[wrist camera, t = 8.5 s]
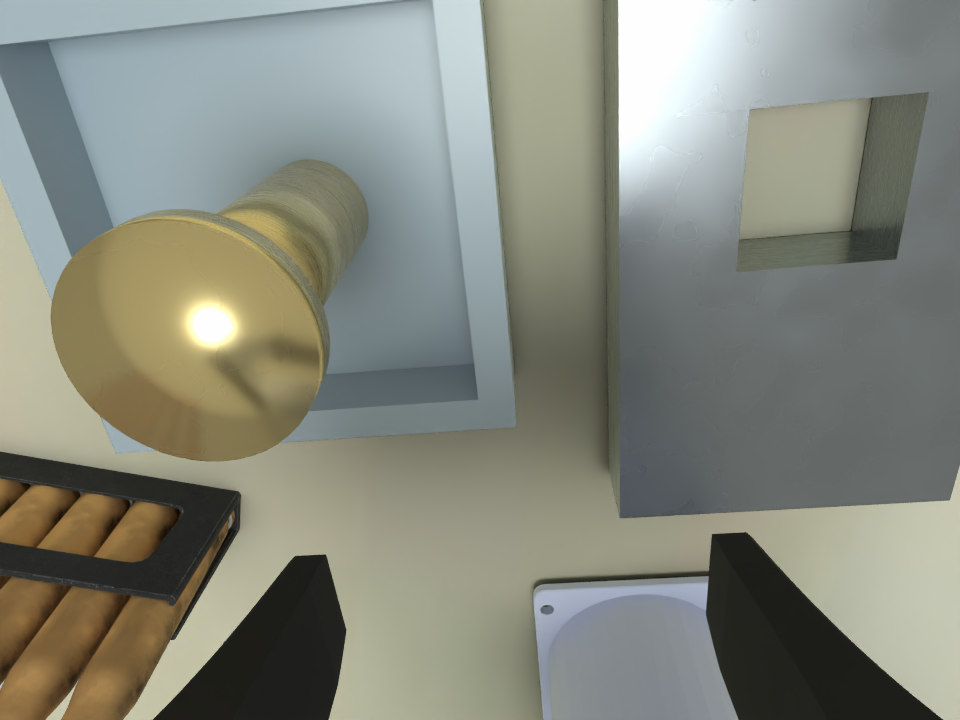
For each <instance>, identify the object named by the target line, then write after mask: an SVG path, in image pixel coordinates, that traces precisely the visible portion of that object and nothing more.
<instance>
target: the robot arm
mask: <svg viewBox="0 0 960 720" xmlns="http://www.w3.org/2000/svg"><path fill="white" fill-rule="evenodd" d="M533 603H534V615H535V626H536V638H537V650H538V662H539V674H540V686H541V698H542V709H543V720H943V719H941V718H940V717H939V716H938V715H936V714H935V713H934V712H933V711H931V710H930V709H929V708H928V707H926V706H925V705H924V704H923V703H921V702H920V701H919V700H918V699H917V698H915V697H914V696H913V695H912V694H910V693H909V692H908V691H907V690H906V689H904V688H903V687H902V686H901V685H900V684H899V683H897V682H896V681H895V680H894V679H893V678H892V677H890V676H889V675H888V674H887V673H886V672H885V671H884V670H882V669H881V668H880V667H879V666H878V665H877V664H876V663H875V662H874V661H872V660H871V659H870V658H869V657H868V656H867V655H866V654H865V653H864V652H863V651H861V650H860V649H859V648H858V647H857V646H856V645H855V644H854V643H853V642H852V641H851V640H850V639H849V638H848V637H847V636H845V635H844V634H843V633H842V632H841V631H840V630H839V629H838V628H837V627H836V626H835V625H834V624H833V623H832V622H831V621H830V620H829V619H828V618H827V617H826V616H825V615H824V614H823V613H822V612H821V611H820V610H819V609H818V608H817V607H816V606H815V605H814V604H813V603H812V602H811V601H810V600H809V599H808V598H807V597H806V596H805V595H804V594H803V593H802V592H801V590H800V589H799V588H798V587H797V586H796V585H795V584H794V583H793V582H792V581H791V580H790V579H789V578H788V577H787V576H786V575H785V573H784V572H783V571H782V570H781V569H780V568H779V567H778V566H777V565H776V564H775V563H774V561H773V560H772V559H771V558H770V557H769V556H768V555H767V554H766V553H765V551H764V550H763V549H762V548H761V547H760V546H759V545H758V544H757V542H756V541H755V540H754V539H753V538H752V537H751V536H750V535H749V534H748V533H746V532H744V533H725V534H712V541H711V554H710V566H709V576H701V577H680V578H660V579H639V580H618V581H598V582H577V583H556V584H543V585H539V586H538V587H536V588H535V589H534V591H533ZM544 605H550V606H548V607H545V606H544ZM345 636H346V627H345V624H344V620H343V616H342V613H341V609H340V605H339V601H338V598H337V594H336V590H335V586H334V583H333V579H332V575H331V572H330V568H329V564H328V560H327V557H326V555H308V556H295V557H294V558H293V559H292V560H291V561H290V562H289V563H288V565H287V566H286V567H285V568H284V570H283V571H282V572H281V573H280V575H279V576H278V577H277V578H276V580H275V581H274V582H273V583H272V585H271V586H270V587H269V589H268V590H267V591H266V592H265V594H264V595H263V596H262V597H261V599H260V600H259V601H258V602H257V604H256V605H255V606H254V607H253V609H252V610H251V611H250V612H249V614H248V615H247V616H246V617H245V618H244V620H243V621H242V622H241V623H240V624H239V626H238V627H237V628H236V629H235V630H234V632H233V633H232V634H231V635H230V636H229V638H228V639H227V640H226V641H225V642H224V643H223V645H222V646H221V647H220V648H219V649H218V651H217V652H216V653H215V654H214V655H213V656H212V657H211V658H210V660H209V661H208V662H207V663H206V664H205V665H204V666H203V667H202V668H201V669H200V671H199V672H198V673H197V674H196V675H195V676H194V677H193V678H192V679H191V680H190V682H189V683H188V684H187V685H186V686H185V687H184V688H183V689H182V690H181V691H180V692H179V694H178V695H177V696H176V697H175V698H174V699H173V700H172V701H171V702H170V703H169V704H168V705H167V706H166V707H165V708H164V709H163V710H162V711H161V712H160V713H159V714H158V715H157V716H156V717H155V718H154V719H153V720H328V719H329V716H330V712H331V708H332V705H333V701H334V697H335V694H336V690H337V686H338V681H339V675H340V669H341V663H342V656H343V650H344V643H345Z"/></svg>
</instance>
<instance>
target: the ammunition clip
mask: <svg viewBox="0 0 960 720" xmlns="http://www.w3.org/2000/svg"><path fill="white" fill-rule="evenodd" d="M239 521H240V494H239V492H238V491H232V490H226V489H220V488H214V487H208V486H202V485H196V484H190V483H184V482H178V481H172V480H166V479H160V478H154V477H148V476H142V475H136V474H130V473H124V472H118V471H112V470H106V469H100V468H94V467H88V466H82V465H76V464H70V463H64V462H58V461H52V460H46V459H40V458H34V457H28V456H22V455H16V454H10V453H4V452H0V685H1V684H2V682H3V681H4V680H5V681H4V683H3V685H2V688H1V690H0V720H46V718H47V717H48V716H49V715H50V714H51V713H52V712H53V711H54V710H55V709H56V708H57V706H58V705H59V704H60V703H61V702H62V701H63V700H64V699H65V697H66V696H67V695H68V694H69V693H70V691H71V690H72V689H73V687H74V686H75V684H76V683H77V681H78V679H79V678H80V679H79V681H78V683H77V685H76V687H75V690H74V692H73V695H72V698H71V700H70V703H69V705H68V708H67V710H66V712H65V714H64V715H63V717H62V719H61V720H123V719H124V718H125V716H126V715H127V714H128V713H129V711H130V710H131V709H132V708H133V706H134V705H135V704H136V702H137V700H138V699H139V697H140V695H141V694H142V692H143V690H144V688H145V686H146V684H147V682H148V680H149V679H150V677H151V675H152V673H153V671H154V669H155V667H156V666H157V664H158V662H159V660H160V658H161V656H162V654H163V653H164V651H165V649H166V647H167V645H168V643H169V641H170V640H174V639H175V638H176V637H177V635H178V633H179V632H180V630H181V628H182V626H183V625H184V623H185V621H186V620H187V618H188V616H189V615H190V613H191V611H192V609H193V608H194V606H195V604H196V603H197V601H198V599H199V598H200V596H201V594H202V592H203V591H204V589H205V587H206V586H207V584H208V582H209V581H210V579H211V577H212V575H213V574H214V572H215V570H216V569H217V567H218V565H219V564H220V562H221V560H222V558H223V557H224V555H225V553H226V552H227V550H228V548H229V546H230V545H231V543H232V541H233V540H234V538H235V536H236V535H237V533H238V531H239ZM87 665H88V666H87ZM82 673H83V674H82ZM80 676H81V677H80Z"/></svg>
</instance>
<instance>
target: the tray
mask: <svg viewBox="0 0 960 720" xmlns="http://www.w3.org/2000/svg"><path fill="white" fill-rule="evenodd" d="M304 159H313V160H320V161H324V162H327V163H330V164H332V165H334V166H336V167H338V168H340V169H341V170H343V171H344V172H346V173H347V174H348V175H349V176H350V177H351V178H352V179H353V180H354V181H355V182H356V184H357V185H358V187H359V188H360V190H361V191H362V193H363V195H364V198H365V200H366V203H367V207H368V213H369V224H368V230H367V234H366V237H365V239H364V241H363V243H362V244H361V246H360V248H359V249H358V251H357V253H356V254H355V256H354V258H353V259H352V261H351V263H350V264H349V266H348V268H347V269H346V271H345V272H344V274H343V276H342V277H341V279H340V281H339V282H338V284H337V286H336V287H335V289H334V291H333V292H332V294H331V295H330V297H329V299H328V300H327V302H326V304H325V305H324V307H323V308H324V312H325V315H326V318H327V322H328V327H329V334H330V357H329V363H328V368H327V371H326V375H325V378H324V380H323V382H322V384H321V387H320V389H319V391H318V393H317V395H316V397H315V399H314V401H313V403H312V405H311V407H310V409H309V411H308V413H307V415H306V416H305V418H304V419H303V421H302V422H301V423H300V425H299V426H298V427H297V428H296V429H295V430H294V431H293V432H292V433H291V434H290V435H289V436H288V437H287V438H285V439H284V440H283V441H281V442H280V443H283V442H299V441H314V440H329V439H345V438H360V437H375V436H391V435H406V434H421V433H437V432H452V431H467V430H483V429H498V428H513V427H516V396H515V372H514V361H513V349H512V337H511V325H510V313H509V301H508V289H507V277H506V265H505V253H504V241H503V230H502V218H501V206H500V194H499V182H498V170H497V158H496V146H495V134H494V122H493V111H492V99H491V87H490V75H489V63H488V51H487V39H486V27H485V15H484V3H483V0H0V179H1V181H2V184H3V186H4V189H5V191H6V193H7V196H8V198H9V200H10V203H11V205H12V208H13V210H14V212H15V215H16V217H17V220H18V222H19V224H20V227H21V229H22V231H23V234H24V236H25V239H26V241H27V243H28V246H29V248H30V250H31V253H32V255H33V258H34V260H35V262H36V265H37V267H38V270H39V272H40V274H41V277H42V279H43V281H44V284H45V286H46V289H47V291H48V293H49V296H50V298H51V301H52V299H53V295H54V291H55V287H56V284H57V282H58V280H59V278H60V275H61V273H62V271H63V270H64V268H65V267H66V265H67V264H68V262H69V261H70V259H71V258H72V257H73V256H74V255H75V254H76V253H77V252H78V251H79V250H80V249H81V248H82V247H84V246H85V245H86V244H88V243H89V242H91V241H92V240H93V239H95V238H97V237H98V236H100V235H102V234H104V233H106V232H107V231H109V230H111V229H113V228H115V227H116V226H118V225H120V224H122V223H124V222H126V221H128V220H130V219H132V218H134V217H137V216H140V215H143V214H146V213H149V212H154V211H160V210H166V209H190V210H200V211H206V212H210V213H214V214H216V213H217V212H219V211H220V210H222V209H223V208H224V207H226V206H227V205H229V204H230V203H232V202H233V201H234V200H236V199H237V198H239V197H240V196H241V195H243V194H244V193H246V192H247V191H249V190H250V189H251V188H253V187H254V186H256V185H257V184H259V183H260V182H261V181H263V180H264V179H266V178H267V177H269V176H270V175H271V174H273V173H274V172H276V171H277V170H279V169H280V168H281V167H283V166H284V165H287V164H289V163H291V162H294V161H298V160H304ZM100 417H101V416H100ZM101 420H102V422H103V424H104V427H105V429H106V432H107V434H108V436H109V439H110V441H111V443H112V446H113V448H114V451H115V453H130V452H145V451H157V450H154V449H152V448H150V447H147V446H145V445H143V444H141V443H139V442H137V441H135V440H133V439H131V438H130V437H128V436H126V435H125V434H123V433H122V432H120V431H119V430H117V429H116V428H114V427H113V426H112V425H110V424H109V423H108V422H107V421H106V420H104V419H103V418H102V417H101Z"/></svg>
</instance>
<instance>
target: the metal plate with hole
mask: <svg viewBox="0 0 960 720" xmlns="http://www.w3.org/2000/svg"><path fill="white" fill-rule="evenodd" d="M603 12H604V97H605V182H606V268H607V353H608V439H609V473H610V478H611V482H612V486H613V491H614V495H615V499H616V504H617V508H618V512H619V517H620V518H636V517H654V516H673V515H691V514H709V513H727V512H745V511H764V510H782V509H800V508H818V507H836V506H855V505H873V504H891V503H909V502H928V501H946V500H950V498H951V494H952V491H953V487H954V483H955V480H956V476H957V473H958V469H959V466H960V0H603ZM872 97H873V99H872V105H871V111H870V117H869V124H868V130H867V136H866V142H865V149H864V155H863V161H862V167H861V174H860V180H859V186H858V192H857V199H856V205H855V211H854V217H853V224H852V230H851V231H845V232H833V233H821V234H808V235H796V236H784V237H772V238H760V239H748V240H739V231H740V219H741V207H742V195H743V182H744V170H745V158H746V146H747V133H748V121H749V109H759V108H769V107H779V106H790V105H800V104H810V103H821V102H831V101H841V100H852V99H862V98H872Z"/></svg>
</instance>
